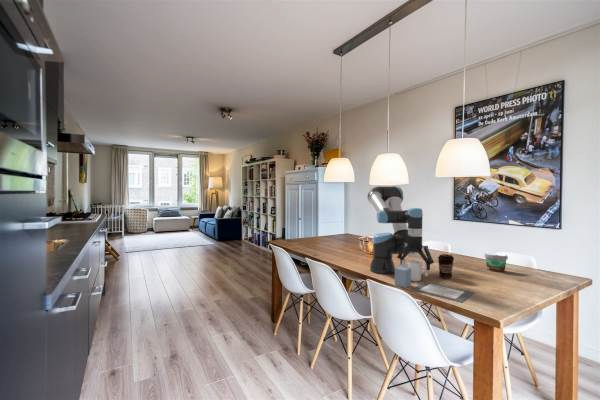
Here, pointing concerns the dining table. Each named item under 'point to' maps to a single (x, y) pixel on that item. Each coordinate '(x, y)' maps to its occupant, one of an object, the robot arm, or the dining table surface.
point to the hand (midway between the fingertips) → (414, 273)
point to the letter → (442, 291)
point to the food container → (496, 262)
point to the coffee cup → (445, 265)
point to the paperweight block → (402, 276)
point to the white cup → (415, 269)
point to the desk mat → (458, 299)
